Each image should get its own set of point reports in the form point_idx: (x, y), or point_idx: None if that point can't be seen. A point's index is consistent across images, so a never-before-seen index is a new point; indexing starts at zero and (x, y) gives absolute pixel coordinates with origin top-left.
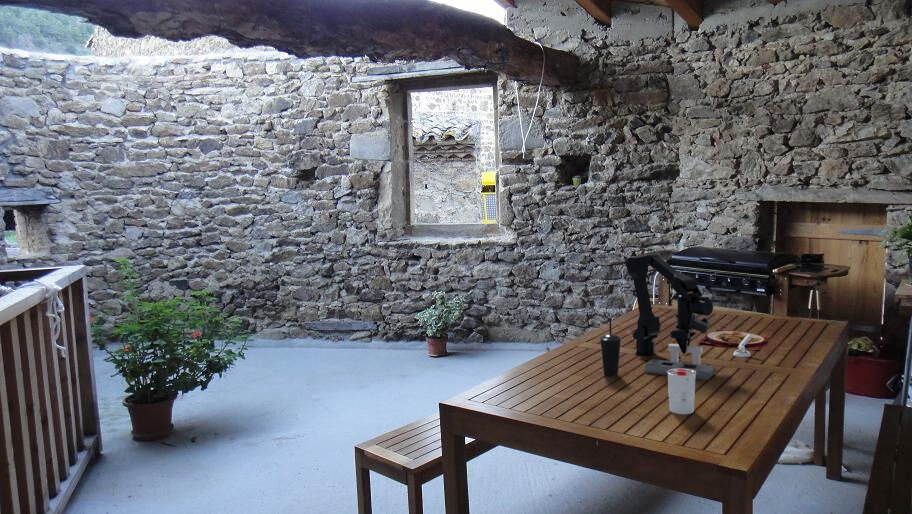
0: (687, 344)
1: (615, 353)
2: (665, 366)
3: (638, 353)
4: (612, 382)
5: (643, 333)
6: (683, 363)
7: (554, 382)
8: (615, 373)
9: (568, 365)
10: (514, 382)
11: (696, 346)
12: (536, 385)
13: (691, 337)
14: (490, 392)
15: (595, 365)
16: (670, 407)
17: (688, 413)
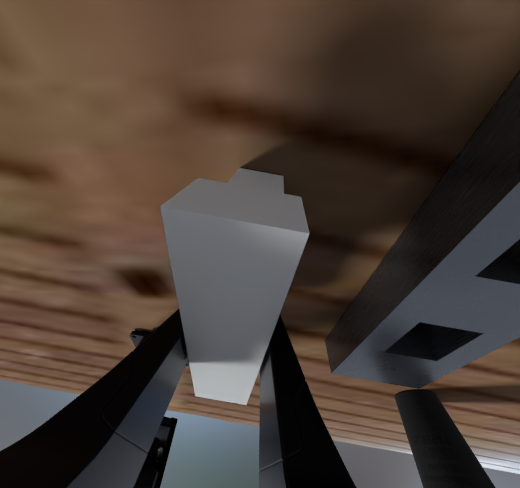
0: (177, 350)
1: None
2: (485, 350)
3: (187, 361)
4: (503, 398)
5: (163, 469)
6: (438, 287)
7: None
8: (439, 402)
9: (329, 421)
10: None
11: (188, 283)
12: (472, 445)
13: (56, 439)
14: (494, 462)
15: (324, 404)
16: None
17: None
